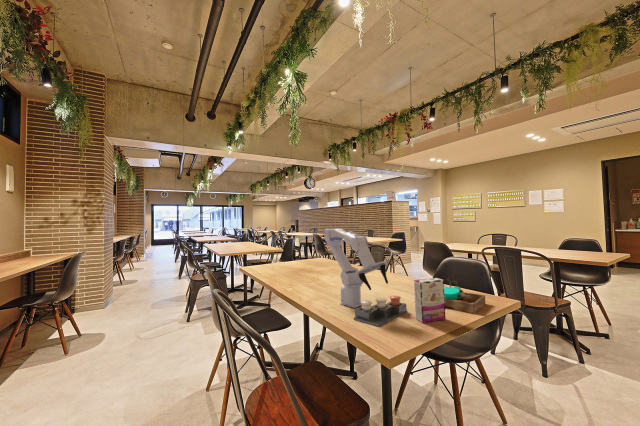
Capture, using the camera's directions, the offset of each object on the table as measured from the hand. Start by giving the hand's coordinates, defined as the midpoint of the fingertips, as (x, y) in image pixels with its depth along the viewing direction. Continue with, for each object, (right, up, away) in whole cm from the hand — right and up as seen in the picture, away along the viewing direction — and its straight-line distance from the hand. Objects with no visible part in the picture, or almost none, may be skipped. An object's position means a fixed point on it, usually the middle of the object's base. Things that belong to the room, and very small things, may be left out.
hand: (378, 286), depth 115 cm
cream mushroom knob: (-5, -10, 0) cm, 12 cm away
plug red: (+9, -10, +6) cm, 15 cm away
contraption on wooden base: (+40, -13, +16) cm, 45 cm away
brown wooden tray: (+40, -13, +16) cm, 45 cm away
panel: (+2, -13, +3) cm, 14 cm away
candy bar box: (+20, -13, -4) cm, 24 cm away
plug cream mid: (+2, -10, +3) cm, 11 cm away
